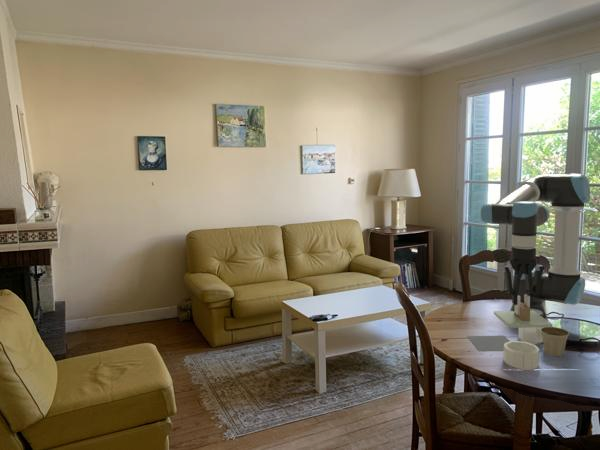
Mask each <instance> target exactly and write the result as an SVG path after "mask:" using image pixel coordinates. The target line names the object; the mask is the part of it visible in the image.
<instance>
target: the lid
mask: <svg viewBox="0 0 600 450" xmlns="http://www.w3.org/2000/svg"><path fill="white" fill-rule="evenodd" d="M493 315H494V316H496V318H497V319H499V320H500V321H501V322H502V323H503V324H504V325H505V326H506V327H507V328H509V329H511V328H513V329H515V328H517V329H519V328H533V327H554V326H553V323H551V322H550V321H548V319H547V320H546V319H544V318H543V317H542V316H540V315H539V314H537V313H536V312H535V311H530V308H529V307H528V306H527V305H525V304H524V303H522V302H520V315H517V314H516V313H515V305H514V311H510V310H500V311H498V310H497V311H496V310H494V311H493Z"/></svg>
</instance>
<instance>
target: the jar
mask: <svg viewBox="0 0 600 450" xmlns="http://www.w3.org/2000/svg"><path fill="white" fill-rule="evenodd" d="M530 311H535V312H536V313H537V314H539V315H540V316H542V317H543V312H542V311H540V310H536V309H530ZM541 328H543V327H533V328H518V335H517V336H518V339H519V341H522V342H528V343H531V344H533V345H538V344H543V337H542V334H541V331H540V329H541Z"/></svg>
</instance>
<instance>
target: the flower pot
mask: <svg viewBox="0 0 600 450" xmlns="http://www.w3.org/2000/svg"><path fill="white" fill-rule="evenodd" d="M540 331H541V334H542V337H543V342H542V344H543V351H544V353H545V354H547V355H549V356H555V357H561V356H564V354H565V349H566V343H567V340H568V339H569V338H568V337H569V335H570V332H569V331H568V330H567V329H565V328H561V327H556V326H553V327H543V328H541V329H540Z"/></svg>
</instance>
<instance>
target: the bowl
mask: <svg viewBox="0 0 600 450" xmlns="http://www.w3.org/2000/svg"><path fill="white" fill-rule="evenodd" d="M509 341H510V342H506V343H505V344H504V351H503V354H502V355H503V362H504V363H505V364H506V365H508V366H509V367H512V368H515V369H517V370H519V371H528V372H529V371H535V370H536V369H538V367H539V365H540V348H539V347H538V346H537V344H531V343H528V342H522V341H521V340H509Z"/></svg>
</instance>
